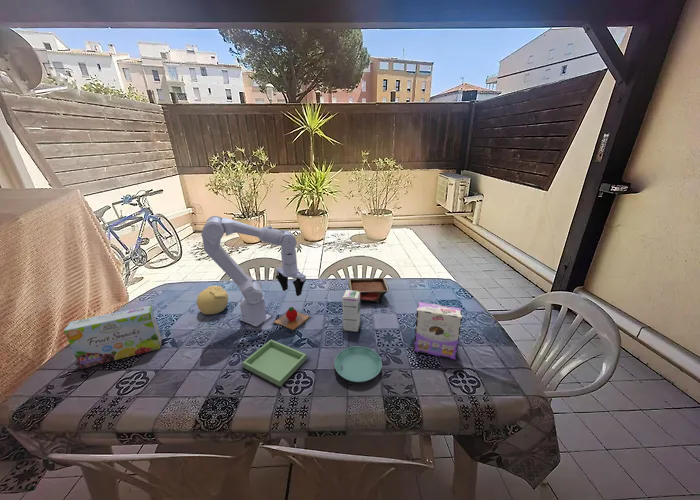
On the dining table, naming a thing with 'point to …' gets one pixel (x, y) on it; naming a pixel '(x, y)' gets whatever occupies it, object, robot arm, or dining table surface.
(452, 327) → the candy box
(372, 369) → the saucer
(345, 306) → the syrup box
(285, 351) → the tray
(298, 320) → the board
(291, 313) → the strawberry
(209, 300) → the sculpture
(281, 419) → the dining table surface
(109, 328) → the snack box
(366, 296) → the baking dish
